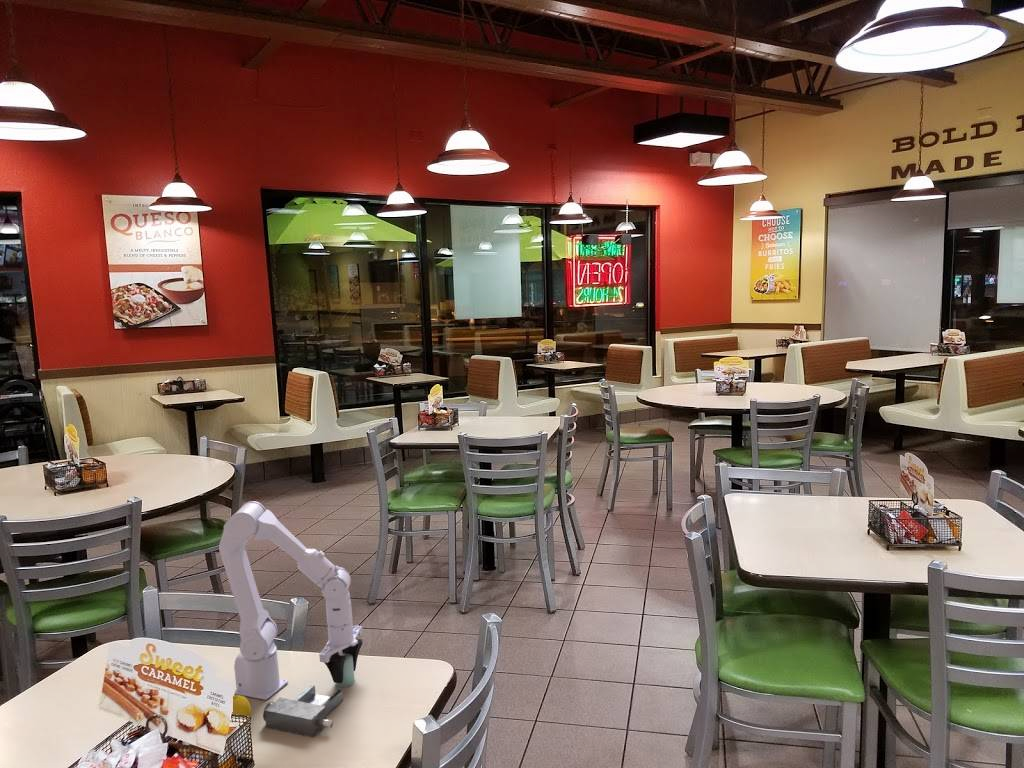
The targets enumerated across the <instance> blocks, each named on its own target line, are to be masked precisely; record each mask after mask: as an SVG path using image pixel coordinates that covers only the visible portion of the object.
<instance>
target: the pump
mask: <svg viewBox="0 0 1024 768" xmlns="http://www.w3.org/2000/svg"><path fill="white" fill-rule="evenodd" d="M339 654H340V655H341V656H346V658H345V661H344V667H343V682H342V683H341V684H340V683H335V686H336V687H338V688H347V687H350V686H352V685H353V684H355V681H356V679H355V671H354V667H353V656H352V655H351V654H346V653H339Z"/></svg>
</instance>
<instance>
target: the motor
mask: <svg viewBox="0 0 1024 768" xmlns="http://www.w3.org/2000/svg"><path fill="white" fill-rule="evenodd" d="M343 701H344V695H343V690H341V689H338V690H337V691H335V692H334V693H333V694H332V695H331V696H328V695H322V694H317V693H316V685H313V684H311V685H309V686H308V687H307V688H306V689H305V690H304V691H302V692H301V693H299V695H297V696H296V697H295V698H293V699H289V698H284V697H278V698H277V699H276V700H275V701H270V702H268V703H267V704H266V705H265V707H264V708H263V709H264V710H263V713H262V717H263V718H262V719H263V721H264V722H265V728H267V729H271V730H275V731H280V732H285V733H289V734H295V735H299V736H303V737H309V738H314V737H315V736H316V735H317V734H318V733H320V731H322V730H323V728H325V727H326V728H328V729H332V728H333V725H334V720H332V719H327V717H328V716H329V715H330V714H331V713H332V712H333V711H334V710H335V709H336V708H337V707H338V706H340V704H342V703H343Z"/></svg>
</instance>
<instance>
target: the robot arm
mask: <svg viewBox="0 0 1024 768" xmlns="http://www.w3.org/2000/svg"><path fill="white" fill-rule="evenodd" d="M254 535H255V537H254V539H253V540H254V541H263V540H264V541H267V540H269V541H271V542H272V543H274V544H275V545H276V546H277V547H279V549H281V550H283V551H284V552H285V553H286V554H288V555H289V556H290V557H292V558H293V559H294V560H296V564H297V565H296V566H297V569H298V570H299V571H300V572H302V574H304V575H305V576H306V577H307V578H308V579H310V581H311V582H313V583H314V584H315V585H316V586H318V587H320V588H321V595H322V596H323V599H325V610H326V611H325V612H326V621H327V634H328V641H327V643H326V644H325V646H324V648H323V649H322V650H321V652H319V662H320V663H324V665H325V666H326V668H327V669H328V671H329V674H330V676H331V678H332V681H333V683H334V684H336V683H340V684H341V683H342V682H343V667H344V661H345V658H346V656H341V655H340V654H343V653H346V654H351V655H352V656H353V667H354V672H356V670H357V661H358V657H359V652H360V651H361V648H362V646H363V643H364V642H363V639H360V638H358V636H362V635H363V626H361V625H354V624H353V611H352V610H353V609H352V601H351V594H350V589H349V588H350V585H351V583H352V582H351V581H352V578H351V575H350V573H349V572H348V571H347V570H348V569H346V568H344V567H340V566H338V565H335V564H334V563H332V561H330V560H329V559H328V558H327V557H326V556H325V552H324V551H322V550H320V551H319V550H317V549H316V548H307V547H306V546H305V545H304V544H303V543H302V542H301V541H300V540H299V539H298V538H297V537H296V536H295V535H294V534H293V533H292V532H291V531H290V530H288V528H287V527H285V525H284V524H282V522H280V521H279V520H278V519H277V517H276V516H275V514H274V513H273V512H272V511H271V510H269V509H266V507H265V506H264V505H263V504H262V503H260V502H258V501H253V500H252V501H248V502H245V503H244V504H242V505H241V506H240V508H239V509H238V510H237V511H236V512H235V513H234V514H232V515H231V516H230V517H229V519H228V520H227V521H226V522H225V524H224V525H223V531H222V534H221V537H220V538H221V539H220V542H219V544H218V545H219V546H218V549H219V555H220V557H221V560H222V563H223V567H224V570H225V573H226V576H227V579H228V583H229V586H230V589H231V592H232V596H233V598H234V599H233V600H234V602H235V606H236V609H237V612H238V616H239V618H240V619H239V620H240V621H239V622H240V624H239V633H238V634H239V637H240V644H239V651H240V652H239V653H238V654H237V656H236V658H235V660H234V663H233V664H234V665H233V668H234V677H235V688H236V690H234V691H235V694H234V695H241V696H244V697H248V698H249V697H250V698H254V699H259V700H264V701H265V700H268V699H269V698H271V697H272V696H273V695H275V694H276V693H277V692H278V691H279V690H280V689H282V688H283V687H284V686H286V684H288V683H289V680H288V679H282V678H280V671H279V659H278V658H279V657H278V649H277V646H276V643H275V641H274V639H275V638H276V637H277V635H278V626H277V624H276V622H275V621H274V620H273V619H272V618H271V616H270V613H269V611H268V610H266V609H265V608H264V606H263V604H262V603H263V602H262V599H261V597H260V594H259V590H258V587H257V583H256V580H255V577H254V574H253V571H252V567H251V564H250V560H249V556H248V553H247V550H246V547H245V546H246V544H247V543H248V541H249V540H250V538H252V537H253V536H254ZM339 652H341V653H339Z"/></svg>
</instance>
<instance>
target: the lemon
mask: <svg viewBox="0 0 1024 768" xmlns="http://www.w3.org/2000/svg"><path fill="white" fill-rule="evenodd" d="M232 697H233V712H232V713H233V714H239V715H245V716H249V717H250V719H252V718H251V716H252V708H251V703H250V701H249V700H248V699H247V697H246V696H243V695H238V694H234V695H233V696H232Z"/></svg>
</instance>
